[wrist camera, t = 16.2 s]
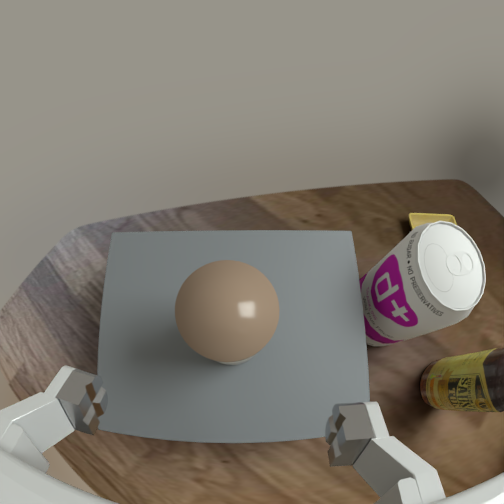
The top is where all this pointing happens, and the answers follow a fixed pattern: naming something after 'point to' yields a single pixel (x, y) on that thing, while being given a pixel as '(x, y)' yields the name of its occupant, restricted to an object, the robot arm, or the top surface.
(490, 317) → the top surface
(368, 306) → the supplement can
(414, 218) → the yellow shallow tray
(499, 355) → the sauce bottle
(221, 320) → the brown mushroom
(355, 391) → the footstool
